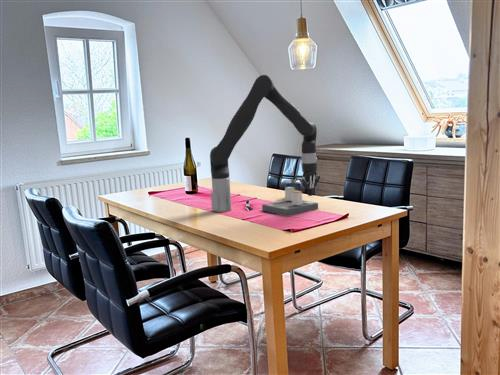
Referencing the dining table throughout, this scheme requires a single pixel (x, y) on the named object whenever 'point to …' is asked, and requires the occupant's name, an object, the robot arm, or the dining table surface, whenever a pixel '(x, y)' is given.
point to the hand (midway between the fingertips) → (310, 195)
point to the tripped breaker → (297, 197)
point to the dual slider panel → (289, 207)
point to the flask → (293, 185)
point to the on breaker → (288, 193)
